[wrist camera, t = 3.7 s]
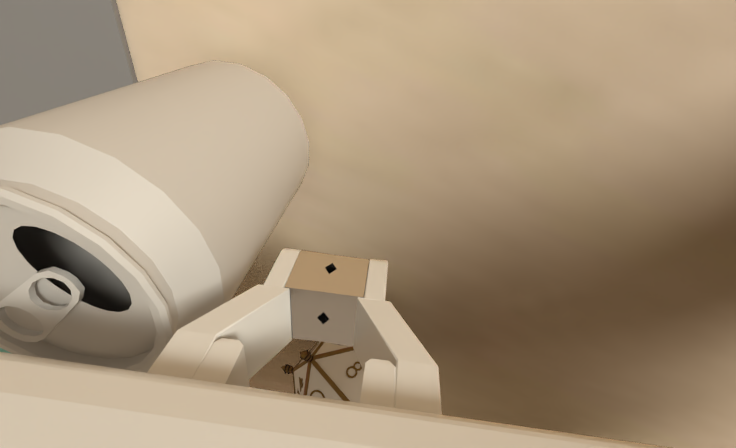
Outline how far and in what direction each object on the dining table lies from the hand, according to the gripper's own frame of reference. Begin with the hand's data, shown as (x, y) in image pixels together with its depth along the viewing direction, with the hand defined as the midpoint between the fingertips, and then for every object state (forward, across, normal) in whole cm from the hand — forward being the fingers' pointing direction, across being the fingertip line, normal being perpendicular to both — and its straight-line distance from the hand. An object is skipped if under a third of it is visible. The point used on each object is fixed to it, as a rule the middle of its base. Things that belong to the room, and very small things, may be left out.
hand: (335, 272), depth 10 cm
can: (+10, +6, 0) cm, 12 cm away
